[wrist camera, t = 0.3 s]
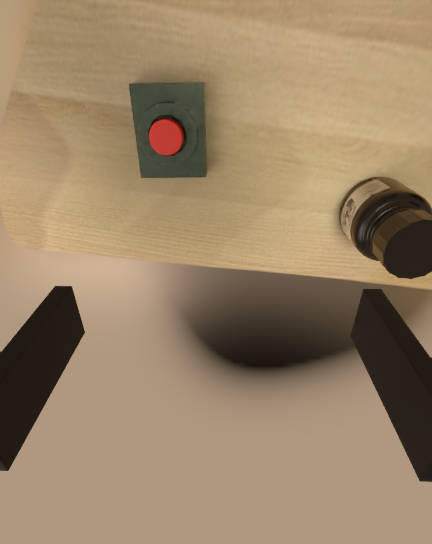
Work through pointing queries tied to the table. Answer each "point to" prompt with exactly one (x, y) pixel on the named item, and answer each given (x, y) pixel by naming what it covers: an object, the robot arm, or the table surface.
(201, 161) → the control box
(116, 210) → the table surface
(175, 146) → the button
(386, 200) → the ink bottle
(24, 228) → the table surface
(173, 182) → the table surface
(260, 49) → the table surface
